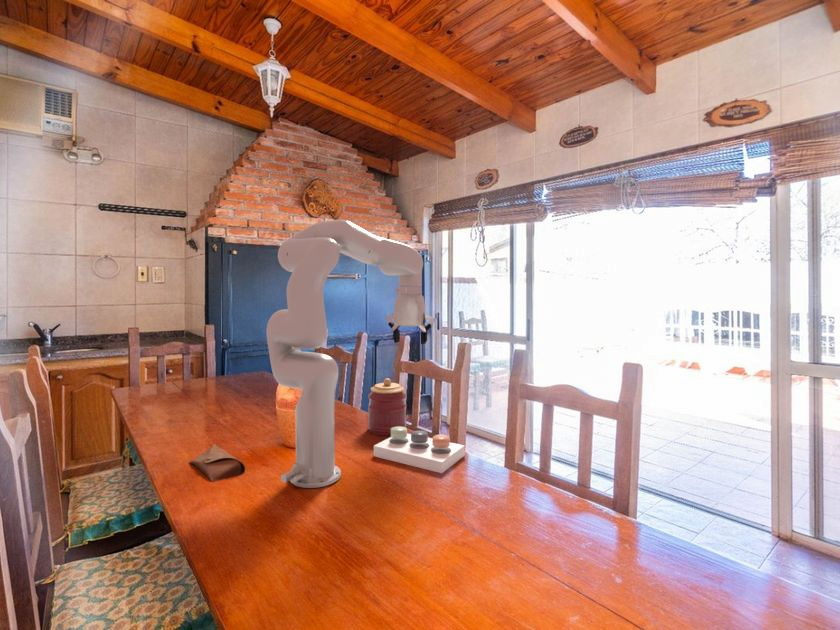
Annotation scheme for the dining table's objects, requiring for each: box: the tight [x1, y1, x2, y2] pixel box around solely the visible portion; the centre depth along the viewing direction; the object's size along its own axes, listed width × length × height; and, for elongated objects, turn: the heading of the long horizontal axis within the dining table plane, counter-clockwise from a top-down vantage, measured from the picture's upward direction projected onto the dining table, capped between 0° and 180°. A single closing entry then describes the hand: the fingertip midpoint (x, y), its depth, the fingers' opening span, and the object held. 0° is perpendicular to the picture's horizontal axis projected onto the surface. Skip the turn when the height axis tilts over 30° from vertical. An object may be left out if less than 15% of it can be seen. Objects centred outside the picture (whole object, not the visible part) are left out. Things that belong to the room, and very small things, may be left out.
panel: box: [373, 433, 466, 474], centre depth 124 cm, size 14×22×3 cm, turn 59°
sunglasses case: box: [188, 443, 246, 483], centre depth 115 cm, size 18×7×7 cm, turn 47°
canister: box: [367, 377, 407, 437], centre depth 146 cm, size 13×13×18 cm
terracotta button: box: [431, 434, 451, 448], centre depth 120 cm, size 5×5×2 cm
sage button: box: [390, 427, 408, 439], centre depth 127 cm, size 5×5×2 cm
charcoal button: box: [410, 430, 429, 443], centre depth 124 cm, size 5×5×2 cm
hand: (409, 342), depth 144 cm, fingers open, 9 cm apart
